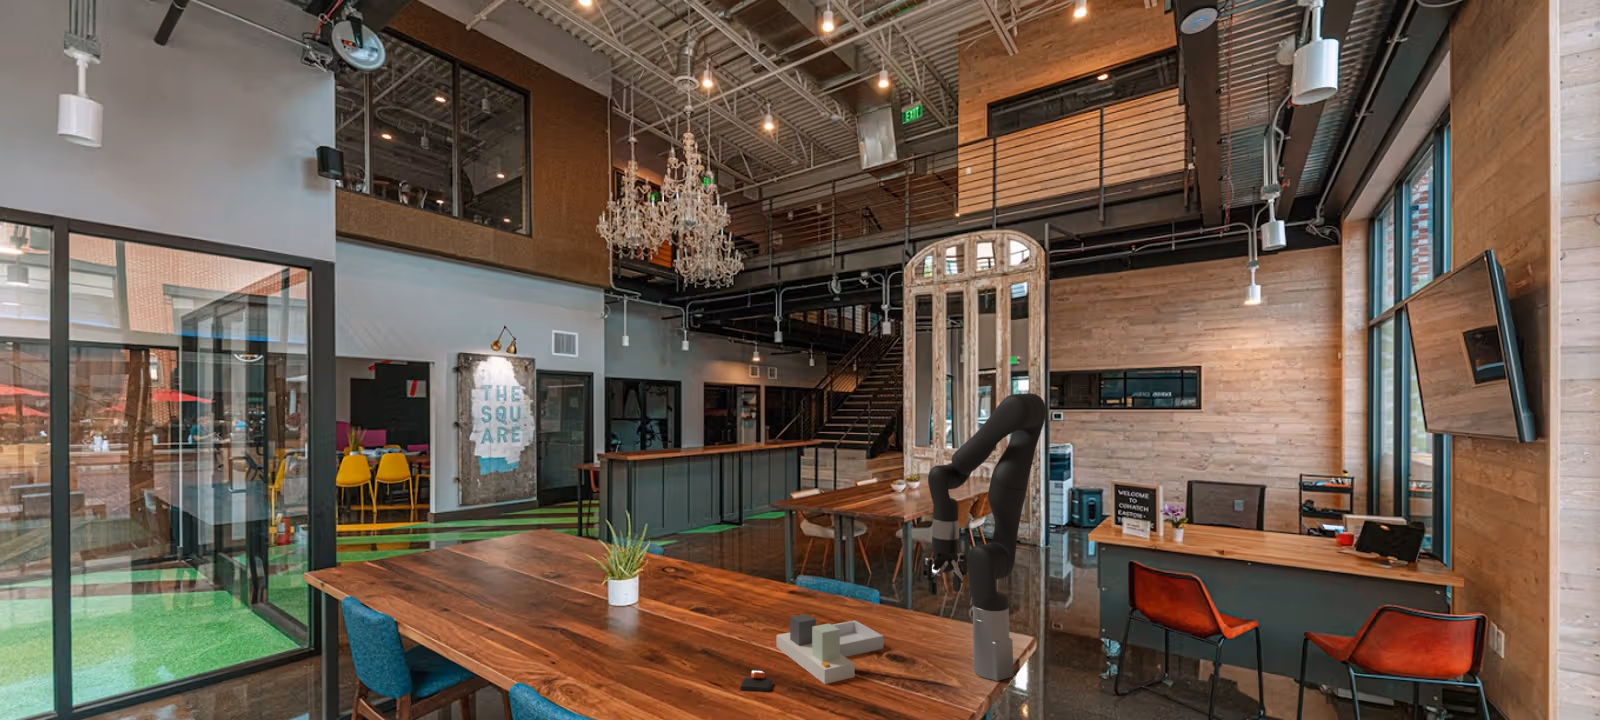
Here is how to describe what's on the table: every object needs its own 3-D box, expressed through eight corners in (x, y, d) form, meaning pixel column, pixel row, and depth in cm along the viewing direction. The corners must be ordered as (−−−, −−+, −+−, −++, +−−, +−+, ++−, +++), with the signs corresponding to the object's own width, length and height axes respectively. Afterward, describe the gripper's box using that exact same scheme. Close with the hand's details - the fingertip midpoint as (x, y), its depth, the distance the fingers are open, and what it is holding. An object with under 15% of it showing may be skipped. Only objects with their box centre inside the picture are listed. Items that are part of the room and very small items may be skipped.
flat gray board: (854, 676, 161) (854, 660, 162) (824, 684, 157) (824, 667, 158) (803, 641, 186) (803, 627, 186) (776, 647, 182) (776, 632, 182)
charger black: (815, 651, 176) (815, 619, 177) (799, 655, 173) (799, 622, 174) (806, 645, 181) (806, 613, 181) (790, 648, 178) (790, 616, 179)
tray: (883, 648, 181) (883, 635, 181) (839, 658, 174) (838, 644, 174) (854, 632, 194) (854, 620, 194) (812, 640, 187) (812, 628, 187)
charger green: (839, 668, 164) (839, 629, 165) (822, 672, 162) (822, 632, 163) (829, 661, 169) (829, 623, 170) (812, 664, 167) (812, 626, 168)
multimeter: (743, 661, 172) (743, 649, 173) (785, 665, 170) (785, 652, 170) (722, 690, 155) (722, 676, 155) (768, 695, 152) (768, 681, 153)
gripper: (934, 540, 170) (933, 600, 170) (973, 535, 177) (973, 593, 176) (917, 534, 177) (916, 592, 176) (955, 530, 184) (955, 585, 183)
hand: (944, 592), depth 176 cm, fingers open, 8 cm apart
